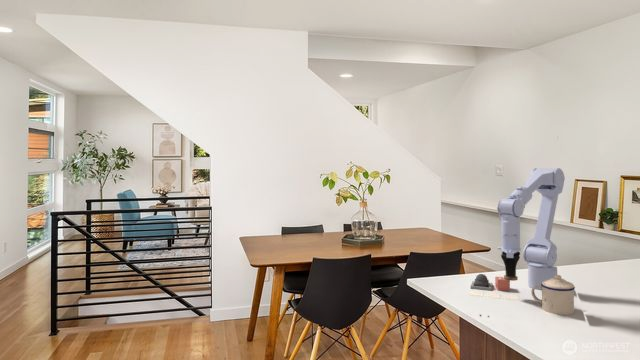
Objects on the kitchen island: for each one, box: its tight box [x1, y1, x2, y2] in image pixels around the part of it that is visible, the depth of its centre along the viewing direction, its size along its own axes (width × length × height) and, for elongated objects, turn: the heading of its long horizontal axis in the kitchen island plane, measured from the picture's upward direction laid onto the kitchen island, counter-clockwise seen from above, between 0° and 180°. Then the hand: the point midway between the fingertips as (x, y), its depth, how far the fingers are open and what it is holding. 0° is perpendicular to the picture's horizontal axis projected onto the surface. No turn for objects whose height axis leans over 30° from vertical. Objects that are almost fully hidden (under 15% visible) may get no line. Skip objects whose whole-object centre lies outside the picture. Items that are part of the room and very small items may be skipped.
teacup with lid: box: [531, 274, 576, 316], centre depth 133 cm, size 12×9×12 cm
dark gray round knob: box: [474, 273, 490, 287], centre depth 157 cm, size 5×5×5 cm
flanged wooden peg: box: [503, 267, 519, 282], centre depth 145 cm, size 4×4×6 cm
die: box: [494, 276, 511, 292], centre depth 154 cm, size 4×4×4 cm
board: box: [468, 280, 519, 301], centre depth 151 cm, size 18×18×2 cm
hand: (510, 274), depth 145 cm, fingers closed on flanged wooden peg, 3 cm apart
